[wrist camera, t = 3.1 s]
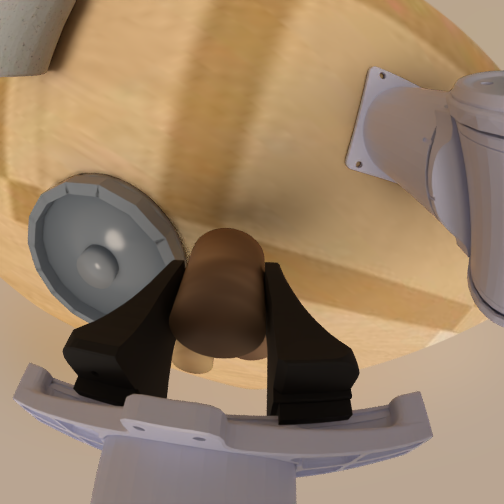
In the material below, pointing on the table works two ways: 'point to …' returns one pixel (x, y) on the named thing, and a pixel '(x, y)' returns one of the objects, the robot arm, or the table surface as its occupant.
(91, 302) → the tray
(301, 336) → the robot arm
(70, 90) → the table surface
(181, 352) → the bead
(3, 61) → the ceramic mug
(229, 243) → the bead
